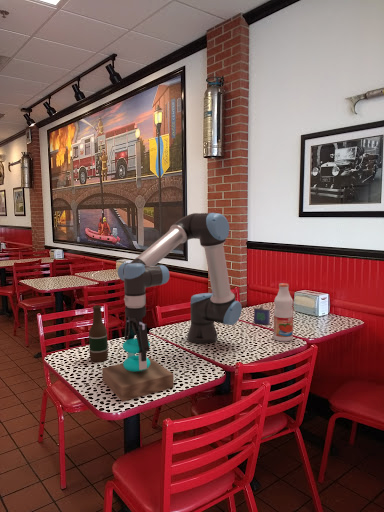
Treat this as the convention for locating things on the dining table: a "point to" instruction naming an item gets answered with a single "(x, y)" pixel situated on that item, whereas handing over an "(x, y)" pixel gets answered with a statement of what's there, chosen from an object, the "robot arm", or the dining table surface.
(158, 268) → the robot arm
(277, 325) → the fruit juice
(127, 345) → the donuts
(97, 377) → the dining table surface
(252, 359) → the dining table surface
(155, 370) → the walnut stand
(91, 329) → the beer bottle
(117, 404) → the dining table surface
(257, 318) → the flask
